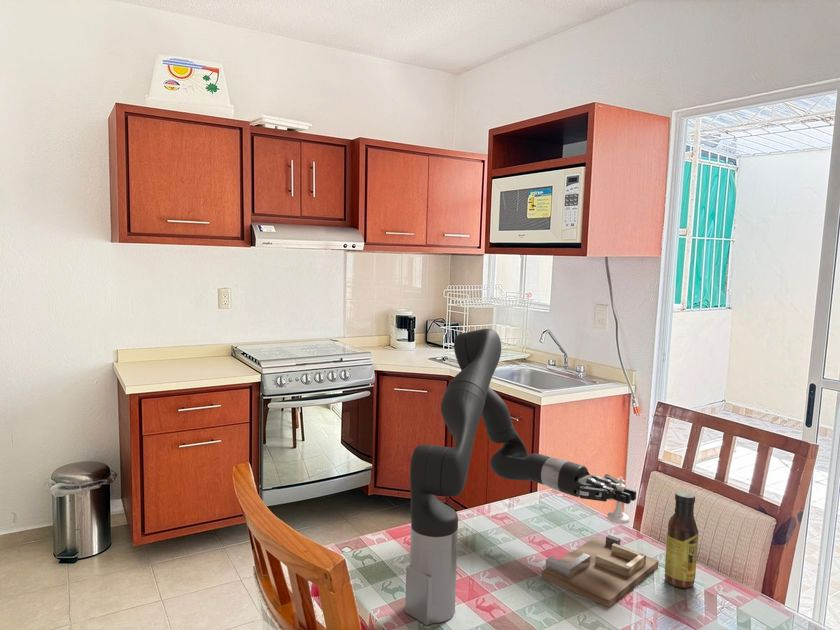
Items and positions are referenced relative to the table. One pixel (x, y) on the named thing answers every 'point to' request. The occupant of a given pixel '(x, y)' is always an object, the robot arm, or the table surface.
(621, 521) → the chess piece
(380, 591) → the table surface
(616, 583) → the socket board
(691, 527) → the sauce bottle
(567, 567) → the keeper bolt
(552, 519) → the table surface
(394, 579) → the table surface
